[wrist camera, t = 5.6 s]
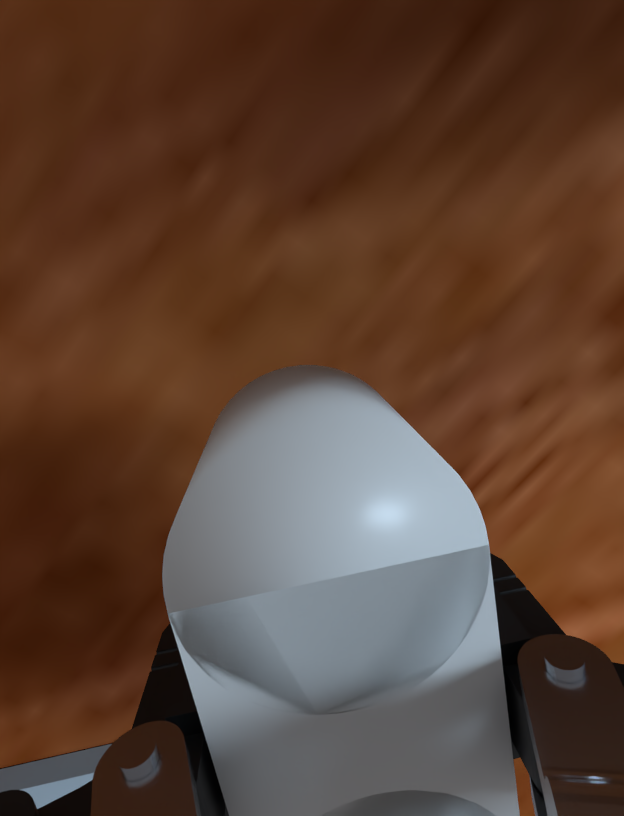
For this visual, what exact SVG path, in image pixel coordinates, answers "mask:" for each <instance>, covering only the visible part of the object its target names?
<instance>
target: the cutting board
mask: <svg viewBox="0 0 624 816" xmlns="http://www.w3.org/2000/svg"><path fill="white" fill-rule="evenodd" d="M111 745H112V744H108V745H104V746H100V747H95V748H91V749H87V750H82V751H78V752H73V753H69V754H65V755H60V756H56V757H52V758H47V759H43V760H38V761H34V762H30V763H25V764H21V765H17V766H12V767H8V768H4V769H0V792H3V791H8V790H22V791H25V792H27V793H29V794H30V795H31V797H32V798H33V800H34V803H35V805H36V807H37V809H39V808H41V807H43V806H45V805H47V804H48V803H50V802H52V801H54V800H56V799H58V798H60V797H62V796H64V795H66V794H68V793H70V792H72V791H74V790H76V789H78V788H80V787H81V786H83V785H85V784H87V783H88V782H90V781H91V780H93V775H94V772H95V769H96V766H97V764H98V762H99V760H100V759H101V757H102V756H103V754H104V753H105V752H106V750H107V749H108V748H109V747H110V746H111Z"/></svg>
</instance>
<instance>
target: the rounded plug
mask: <svg viewBox="0 0 624 816" xmlns="http://www.w3.org/2000/svg"><path fill="white" fill-rule="evenodd" d="M162 580H163V594H164V599H165V604H166V608H167V612H168V616H169V619H170V623H171V626H172V629H173V633H174V636H175V639H176V642H177V646H178V649H179V652H180V656H181V659H182V662H183V665H184V669H185V672H186V675H187V679H188V682H189V685H190V689H191V692H192V695H193V698H194V702H195V705H196V708H197V712H198V715H199V718H200V722H201V725H202V728H203V731H204V735H205V738H206V741H207V745H208V748H209V751H210V754H211V758H212V761H213V764H214V768H215V771H216V774H217V778H218V781H219V784H220V787H221V791H222V794H223V797H224V801H225V804H226V807H227V810H228V814H229V816H520V815H519V806H518V797H517V789H516V780H515V771H514V762H513V753H512V744H511V735H510V727H509V718H508V709H507V700H506V691H505V682H504V673H503V665H502V656H501V647H500V638H499V629H498V620H497V611H496V603H495V594H494V585H493V576H492V567H491V558H490V549H489V542H488V537H487V532H486V526H485V523H484V520H483V517H482V515H481V512H480V509H479V507H478V505H477V503H476V501H475V499H474V497H473V495H472V493H471V491H470V490H469V488H468V487H467V486H466V484H465V483H464V481H463V480H462V479H461V477H460V476H459V475H458V473H457V472H456V471H455V470H454V469H453V468H452V467H451V466H450V465H449V464H448V463H447V462H446V461H445V460H444V459H443V458H442V457H441V456H440V455H439V454H438V453H437V452H436V451H435V450H434V449H433V448H432V447H431V446H430V445H429V444H428V443H427V442H426V441H425V440H424V439H423V438H422V437H421V436H420V435H419V434H418V433H417V432H416V431H415V430H414V429H413V428H412V427H411V426H410V425H409V424H408V423H407V422H406V421H405V420H404V419H403V418H402V417H401V416H400V415H399V414H398V413H397V412H396V411H395V410H394V409H393V408H392V407H391V406H390V405H389V404H388V403H387V402H386V401H385V400H384V399H383V398H382V397H381V396H380V395H379V394H378V393H377V391H376V390H374V389H373V388H372V387H371V386H369V385H368V384H367V383H365V382H364V381H362V380H361V379H359V378H357V377H355V376H354V375H351V374H349V373H346V372H344V371H342V370H338V369H334V368H331V367H326V366H318V365H299V366H291V367H286V368H282V369H278V370H274V371H272V372H270V373H267V374H265V375H262V376H260V377H259V378H257V379H255V380H254V381H252V382H250V383H249V384H247V385H246V386H245V387H244V388H242V389H241V390H240V391H239V392H238V393H237V394H236V395H235V396H234V397H233V398H232V399H231V400H230V401H229V402H228V403H227V405H226V406H225V407H224V409H223V410H222V411H221V413H220V415H219V417H218V418H217V420H216V422H215V424H214V427H213V429H212V431H211V434H210V436H209V439H208V441H207V443H206V446H205V448H204V450H203V453H202V455H201V458H200V460H199V462H198V465H197V467H196V469H195V472H194V474H193V477H192V479H191V481H190V484H189V486H188V489H187V491H186V493H185V496H184V498H183V500H182V503H181V505H180V508H179V510H178V512H177V515H176V517H175V520H174V522H173V525H172V527H171V530H170V532H169V535H168V539H167V543H166V548H165V552H164V558H163V571H162Z"/></svg>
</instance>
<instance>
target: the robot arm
mask: <svg viewBox="0 0 624 816" xmlns="http://www.w3.org/2000/svg"><path fill="white" fill-rule="evenodd" d="M490 558H491V567H492V576H493V585H494V594H495V603H496V611H497V620H498V629H499V638H500V647H501V656H502V665H503V673H504V682H505V691H506V700H507V709H508V718H509V727H510V735H511V744H512V753H513V759H515V758H519V757H521V759H522V761H523V763H524V765H525V767H526V769H527V771H528V773H529V776H530V785H531V795H532V800H533V805H534V810H535V815H536V816H624V664H618V663H613V662H611V660H610V659H609V658H608V657H607V655H606V654H605V653H604V652H602V651H601V650H600V649H599V648H597V647H596V646H594V645H593V644H591V643H589V642H587V641H585V640H582V639H579V638H576V637H573V636H568V635H566V634H565V633H564V632H563V631H562V630H561V628H560V627H559V626H558V625H557V624H556V623H555V621H554V620H553V619H552V618H551V617H550V615H549V614H548V613H547V612H546V611H545V609H544V608H543V607H542V606H541V605H540V603H539V602H538V601H537V600H536V599H535V598H534V596H533V595H532V594H531V593H530V592H529V590H526V587H525V586H524V584H523V583H522V582H521V581H520V580H519V579H518V578H516V576H515V574H514V573H513V571H512V570H511V569H510V568H509V567H508V565H507V564H506V563H505V562H504V561H503V560H502V559H500V558H498V557H496V556H494V555H493V554H491V553H490ZM156 652H157V655H155V658H154V661H153V664H152V667H151V668H152V671H151V672H150V673H149V676H148V680H147V683H146V686H145V689H144V692H143V695H142V698H141V702H140V705H139V708H138V711H137V714H136V717H135V721H134V724H133V727H132V729H131V730H129V731H128V732H126V733H125V734H123V735H122V736H121V737H119V738H118V739H117V740H116V741H115V742H114V743H113V744H112V745H111V746H110V747H109V748H108V749H107V750H106V752H105V753H104V754H103V756H102V757H101V759H100V760H99V762H98V764H97V766H96V769H95V772H94V775H93V780H91V781H90V782H88V783H87V784H85V785H83V786H81V787H80V788H78V789H76V790H74V791H72V792H70V793H68V794H66V795H64V796H62V797H60V798H58V799H56V800H54V801H52V802H50V803H48V804H47V805H45V806H43V807H41V808H39V809H37V807H36V805H35V803H34V800H33V798H32V797H31V795H30V794H29V793H27V792H25V791H22V790H8V791H3V792H0V816H229V814H228V810H227V807H226V804H225V801H224V797H223V794H222V791H221V787H220V784H219V781H218V778H217V774H216V771H215V768H214V764H213V761H212V758H211V754H210V751H209V748H208V745H207V741H206V738H205V735H204V731H203V728H202V725H201V722H200V718H199V715H198V712H197V708H196V705H195V702H194V698H193V695H192V692H191V689H190V685H189V682H188V679H187V675H186V672H185V669H184V665H183V662H182V659H181V656H180V652H179V649H178V646H177V642H176V639H175V636H174V633H173V629H172V626H171V623H170V624H169V625H168V626H167V628H166V629H165V630H164V631H163V633H162V636H161V639H160V642H159V645H158V648H157V651H156Z"/></svg>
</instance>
